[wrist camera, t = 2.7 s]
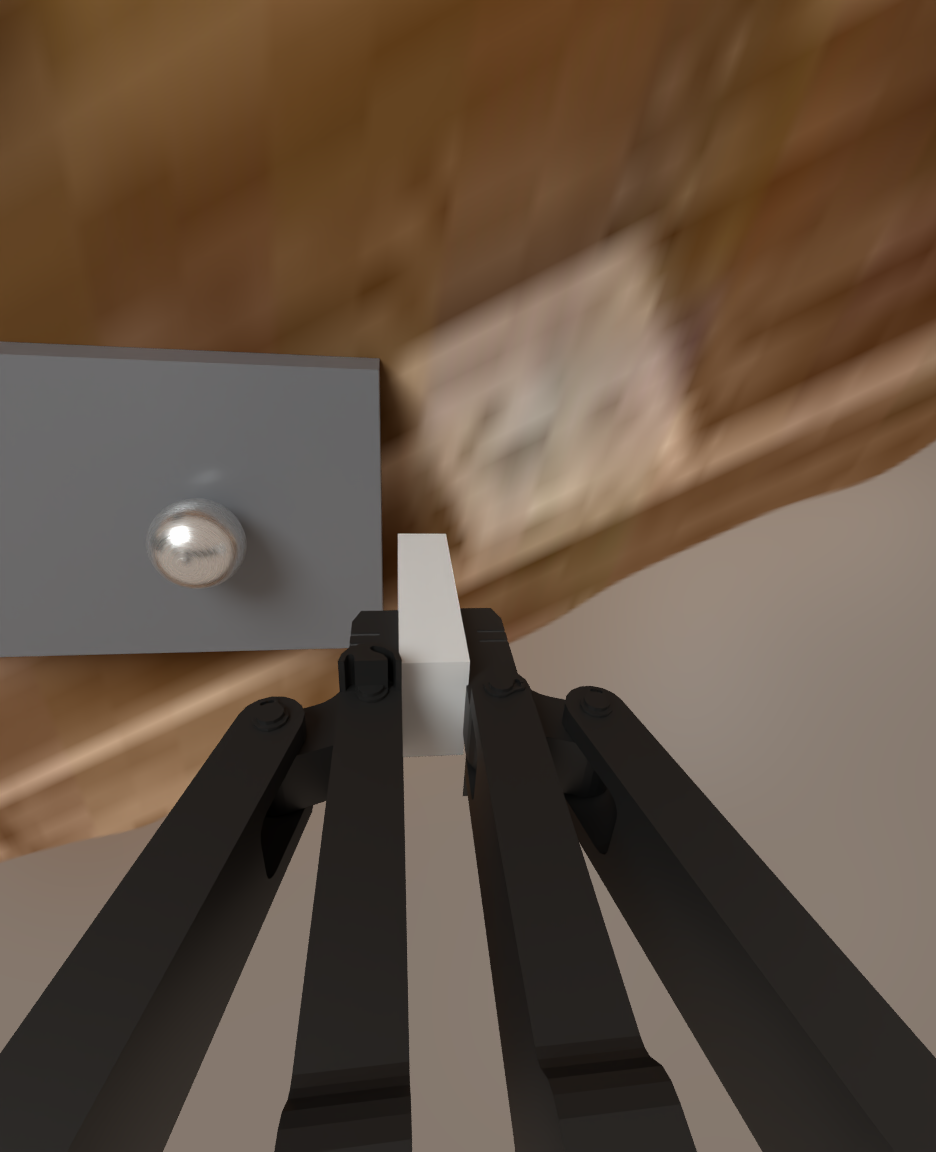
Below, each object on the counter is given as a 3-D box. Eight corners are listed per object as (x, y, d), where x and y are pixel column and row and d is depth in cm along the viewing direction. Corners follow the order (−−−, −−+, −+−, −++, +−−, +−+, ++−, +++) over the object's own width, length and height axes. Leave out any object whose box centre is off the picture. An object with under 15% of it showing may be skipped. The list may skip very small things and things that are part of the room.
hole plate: (-229, 625, 22) (-295, 664, 20) (-423, 322, 17) (-541, 331, 15) (383, 614, 26) (382, 647, 23) (379, 358, 20) (378, 369, 18)
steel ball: (173, 563, 20) (142, 606, 18) (156, 484, 19) (120, 519, 16) (259, 562, 21) (241, 605, 18) (248, 485, 19) (227, 520, 17)
